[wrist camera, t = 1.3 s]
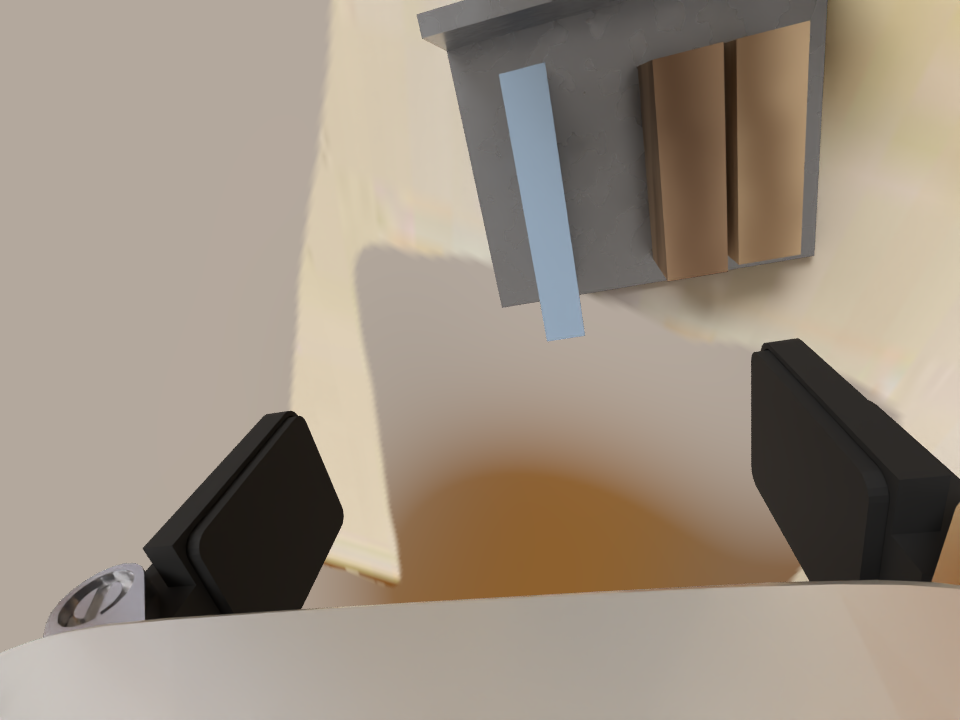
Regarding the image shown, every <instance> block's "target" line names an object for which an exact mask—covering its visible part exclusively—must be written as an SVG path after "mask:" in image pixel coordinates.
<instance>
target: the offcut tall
mask: <svg viewBox="0 0 960 720" xmlns="http://www.w3.org/2000/svg"><path fill="white" fill-rule="evenodd" d="M638 79H639V91H640V103H641V116H642V128H643V140H644V153H645V165H646V177H647V190H648V202H649V214H650V227H651V239H652V251H653V259H654V261H655V263H656V264H657V266H658V267H659V269H660V270H661V272H662V273H663V275H664V276H665V278H666V279H667V281H674V280H680V279H686V278H692V277H698V276H704V275H710V274H716V273H722V272H728V245H727V193H726V141H725V89H724V42H721V43H717V44H713V45H709V46H705V47H701V48H697V49H693V50H689V51H685V52H681V53H677V54H673V55H669V56H665V57H661V58H657V59H653V60H651V61H648V62H646V63H644V64H642V65H639V66H638Z"/></svg>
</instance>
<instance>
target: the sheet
mask: <svg viewBox="0 0 960 720" xmlns="http://www.w3.org/2000/svg"><path fill="white" fill-rule="evenodd" d="M499 78H500V84H501V89H502V95H503V100H504V106H505V111H506V117H507V122H508V128H509V133H510V139H511V144H512V150H513V155H514V161H515V167H516V172H517V178H518V183H519V189H520V194H521V200H522V205H523V211H524V216H525V222H526V227H527V233H528V238H529V244H530V249H531V255H532V260H533V266H534V271H535V277H536V282H537V288H538V293H539V299H540V304H541V310H542V315H543V321H544V326H545V332H546V337H547V341H553V340H560V339H566V338H573V337H580V336H585V332H584V326H583V319H582V312H581V304H580V297H579V290H578V283H577V277H576V270H575V263H574V256H573V249H572V242H571V236H570V229H569V222H568V215H567V208H566V202H565V195H564V188H563V181H562V174H561V168H560V161H559V154H558V147H557V140H556V134H555V127H554V120H553V113H552V106H551V99H550V93H549V86H548V79H547V72H546V66H545V62H544V63H540V64H536V65H532V66H528V67H525V68H521V69H517V70H513V71H509V72H506V73H502V74H499Z"/></svg>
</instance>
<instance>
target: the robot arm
mask: <svg viewBox="0 0 960 720" xmlns="http://www.w3.org/2000/svg"><path fill="white" fill-rule="evenodd" d="M751 421H752V422H751V432H752V433H751V436H752V437H751V457H752V458H751V462H752V463H751V467H752V475H753V479H754V482H755V485H756V487H757V488H758V490H759V492H760V494H761V496H762V497H763V499H764V501H765V503H766V505H767V506H768V508H769V510H770V512H771V513H772V515H773V517H774V519H775V521H776V522H777V524H778V526H779V527H780V529H781V531H782V533H783V535H784V536H785V538H786V540H787V542H788V544H789V545H790V547H791V549H792V551H793V552H794V554H795V556H796V558H797V560H798V561H799V563H800V565H801V567H802V569H803V570H804V572H805V574H806V576H807V577H808V579H809V581H810V582H771V583H754V584H753V583H752V584H734V585H715V586H697V587H680V588H679V587H678V588H659V589H641V590H622V591H605V592H586V593H568V594H551V595H534V596H517V597H500V598H483V599H466V600H449V601H431V602H414V603H398V604H382V605H365V606H348V607H333V608H332V607H331V608H315V609H301V608H302V606H303V604H304V602H305V600H306V598H307V596H308V594H309V592H310V590H311V588H312V586H313V584H314V582H315V580H316V578H317V576H318V574H319V571H320V569H321V567H322V565H323V563H324V561H325V559H326V557H327V555H328V553H329V551H330V549H331V547H332V545H333V543H334V541H335V539H336V537H337V535H338V532H339V530H340V528H341V526H342V524H343V517H344V514H343V509H342V506H341V504H340V501H339V499H338V496H337V494H336V492H335V489H334V487H333V485H332V482H331V480H330V477H329V475H328V473H327V470H326V468H325V466H324V463H323V461H322V459H321V456H320V454H319V451H318V449H317V447H316V444H315V442H314V440H313V437H312V435H311V432H310V430H309V428H308V425H307V423H306V421H305V419H304V418H303V417H301V416H298V415H297V414H296V413H295V412H293V411H286V412H279V413H272V414H266V415H265V416H263V417H262V419H261V420H260V421H259V422H258V423H257V424H256V425H255V426H254V427H253V428H252V429H251V431H250V432H249V433H248V434H247V435H246V436H245V437H244V438H243V439H242V441H241V442H240V443H239V444H238V445H237V446H236V447H235V448H234V449H233V451H232V452H231V453H230V454H229V455H228V456H227V457H226V458H225V459H224V460H223V461H222V462H221V463H220V465H219V466H218V467H217V468H216V469H215V470H214V471H213V472H212V473H211V474H210V475H209V476H208V478H207V479H206V480H205V481H204V482H203V483H202V484H201V485H200V486H199V487H198V489H197V490H196V491H195V492H194V493H193V494H192V495H191V496H190V497H189V498H188V499H187V500H186V502H185V503H184V504H183V505H182V506H181V507H180V508H179V509H178V510H177V511H176V512H175V514H174V515H173V516H172V517H171V518H170V519H169V520H168V521H167V522H166V523H165V525H164V526H163V527H162V528H161V529H160V530H159V531H158V532H157V533H156V535H154V537H153V538H152V539H151V540H150V541H149V542H148V543H147V544H146V545H145V546H144V547H143V550H144V551H145V553H146V554H147V556H148V558H149V559H150V560H151V562H152V565H151V566H150V567H149V568H148V570H146V571H145V570H144V569H143V567H142V566H140V565H138V564H136V563H124V564H121V565H117V566H113V567H111V568H108V569H106V570H103V571H101V572H99V573H97V574H96V575H94V576H92V577H90V578H89V579H87V580H85V581H84V582H82V583H81V584H80V585H78V586H77V587H76V588H74V589H73V590H72V591H70V592H69V593H68V594H67V595H66V596H65V597H64V598H63V599H62V600H61V601H60V602H59V603H58V604H57V606H56V607H55V608H54V609H53V611H52V612H51V614H50V616H49V618H48V621H47V622H46V626H45V631H44V635H43V638H41V639H37V640H33V641H30V642H28V643H25V644H22V645H19V646H17V647H14V648H12V649H9V650H7V651H4V652H2V653H0V720H960V479H959V478H958V477H957V476H956V475H955V474H954V473H953V472H951V471H950V470H949V469H948V468H947V467H946V466H945V465H944V464H942V463H941V462H940V461H939V460H938V459H937V458H936V457H935V456H933V455H932V454H931V453H930V452H929V451H928V450H927V449H926V448H924V447H923V446H922V445H921V444H920V443H919V442H918V441H917V440H915V439H914V438H913V437H912V436H911V435H910V434H909V433H908V432H906V431H905V430H904V429H903V428H902V427H901V426H900V425H899V424H897V423H896V422H895V421H894V420H893V419H892V418H891V417H889V416H888V415H887V414H886V413H885V412H884V411H883V410H882V409H881V408H879V407H878V406H877V405H876V404H874V403H873V402H871V401H869V400H867V399H866V398H865V397H864V396H863V395H862V394H861V393H860V392H858V391H857V390H856V389H855V388H854V387H853V386H852V385H851V384H850V383H848V382H847V381H846V380H845V379H844V378H843V377H842V376H841V375H840V374H838V373H837V372H836V371H835V370H834V369H833V368H832V367H831V366H830V365H828V364H827V363H826V362H825V361H824V360H823V359H822V358H821V357H819V356H818V355H817V354H816V353H815V352H814V351H813V350H812V349H811V348H809V347H808V346H807V345H806V344H805V343H804V342H803V341H802V340H800V339H798V338H797V339H790V340H783V341H776V342H769V343H764V344H763V345H762V348H761V351H759V352H754V353H753V354H752V359H751Z"/></svg>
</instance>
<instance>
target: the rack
mask: <svg viewBox="0 0 960 720" xmlns="http://www.w3.org/2000/svg"><path fill="white" fill-rule="evenodd" d="M827 2H828V0H464V1H460V2H457V3H454V4H450V5H447V6H444V7H440V8H437V9H434V10H430V11H427V12H424V13H420V14H417V18H418V23H419V27H420V31H421V36H422V39H424V40H426V41H428V42H430V43H432V44H434V45H436V46H438V47H440V48H442V49H444V50H446V51H447V54H448V58H449V63H450V68H451V72H452V77H453V81H454V86H455V91H456V95H457V100H458V105H459V109H460V114H461V119H462V123H463V128H464V133H465V137H466V142H467V147H468V151H469V156H470V160H471V165H472V170H473V174H474V179H475V184H476V188H477V193H478V198H479V202H480V207H481V212H482V216H483V221H484V226H485V230H486V235H487V240H488V244H489V249H490V253H491V258H492V263H493V267H494V272H495V277H496V281H497V286H498V290H499V295H500V300H501V304H502V307H508V306H514V305H521V304H526V303H533V302H539V301H540V299H539V293H538V288H537V282H536V277H535V271H534V266H533V260H532V255H531V249H530V244H529V238H528V233H527V227H526V222H525V216H524V211H523V205H522V200H521V194H520V189H519V183H518V178H517V172H516V167H515V161H514V155H513V150H512V144H511V139H510V133H509V128H508V122H507V117H506V111H505V106H504V100H503V95H502V89H501V84H500V78H499V74H502V73H506V72H509V71H513V70H517V69H521V68H525V67H528V66H532V65H536V64H540V63H544V62H545V66H546V72H547V79H548V86H549V93H550V99H551V106H552V113H553V120H554V127H555V134H556V140H557V147H558V154H559V161H560V168H561V174H562V181H563V188H564V195H565V202H566V208H567V215H568V222H569V229H570V236H571V242H572V249H573V256H574V263H575V270H576V277H577V283H578V290H579V295H581V294H587V293H593V292H599V291H605V290H611V289H617V288H623V287H629V286H635V285H641V284H647V283H653V282H659V281H665V280H667V279H666V278H665V276H664V275H663V273H662V272H661V270H660V269H659V267H658V266H657V264H656V263H655V261H654V259H653V251H652V239H651V227H650V214H649V202H648V190H647V177H646V165H645V153H644V140H643V128H642V116H641V103H640V91H639V79H638V66H639V65H642V64H644V63H646V62H648V61H651V60H653V59H657V58H661V57H665V56H669V55H673V54H677V53H681V52H685V51H689V50H693V49H697V48H701V47H705V46H709V45H713V44H717V43H721V42H724V43H727V42H729V41H732V40H735V39H739V38H742V37H746V36H750V35H754V34H758V33H762V32H766V31H770V30H774V29H778V28H782V27H786V26H790V25H794V24H798V23H802V22H806V21H810V42H809V66H808V90H807V114H806V139H805V163H804V187H803V211H802V236H801V255H795V256H789V257H783V258H777V259H771V260H765V261H759V262H753V263H747V264H741V265H738V264H737V263H736V262H735V261H734V260H732V259H731V258H730V257H729V256H728V270H731V269H737V268H743V267H749V266H755V265H761V264H767V263H773V262H779V261H785V260H791V259H797V258H803V257H809V256H814V250H815V231H816V212H817V193H818V174H819V154H820V135H821V116H822V97H823V78H824V59H825V40H826V21H827Z"/></svg>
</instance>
